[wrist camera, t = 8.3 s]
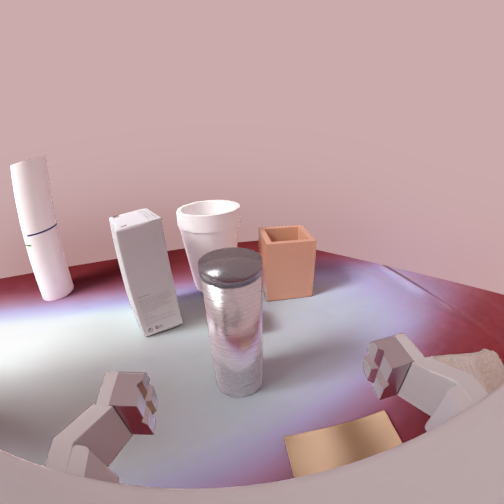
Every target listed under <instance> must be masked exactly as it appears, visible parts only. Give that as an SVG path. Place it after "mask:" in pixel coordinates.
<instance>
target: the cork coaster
mask: <svg viewBox="0 0 504 504" xmlns="http://www.w3.org/2000/svg"><path fill="white" fill-rule="evenodd" d="M284 441H285V445H286V449H287V453H288V457H289V460H290V464H291V468H292V472H293V476H294V478H297V477H302V476H306V475H310V474H315V473H319V472H323V471H326V470H330V469H334V468H337V467H340V466H344V465H347V464H350V463H353V462H356V461H359V460H362V459H365V458H368V457H371V456H373V455H376V454H379V453H381V452H384V451H386V450H389V449H391V448H393V447H396V446H398V445H400V444H403V443H402V441H401V440H400V438H399V436H398V434H397V432H396V430H395V429H394V427H393V425H392V423H391V421H390V419H389V418H388V416H387V414H386V412H385V410H384V411H381V412H378V413H375V414H372V415H369V416H366V417H363V418H360V419H356V420H353V421H349V422H346V423H342V424H339V425H335V426H331V427H327V428H323V429H319V430H314V431H310V432H305V433H300V434H295V435H290V436H284Z"/></svg>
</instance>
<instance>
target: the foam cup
mask: <svg viewBox="0 0 504 504" xmlns="http://www.w3.org/2000/svg"><path fill="white" fill-rule="evenodd" d="M176 214H177V222H178V227H179V228H180V231H181V235H182V239H183V243H184V246H185V250H186V254H187V257H188V261H189V264H190V268H191V272H192V275H193V278H194V282H195V285H196V288H197V289H198V290H199V291H200V292H202V293H203V289H202V282H201V278H200V276H199V268H198V261H199V259H200V258H201V257H202V256H203V255H204V254H206V253H208V252H211V251H213V250H217V249H222V248H235V247H236V248H237V241H238V229H239V223H240V206H239V203H236V202H233V201H227V200H207V201H199V202H194V203H190V204H186V205H184V206H182V207H179V208H178V209H177V211H176Z"/></svg>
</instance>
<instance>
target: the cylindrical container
mask: <svg viewBox="0 0 504 504" xmlns="http://www.w3.org/2000/svg"><path fill="white" fill-rule="evenodd" d="M10 168H11V176H12V183H13V190H14V196H15V201H16V206H17V211H18V216H19V221H20V225H21V229H22V233H23V237H24V241H25V244H26V248H27V252H28V255H29V259H30V262H31V265H32V268H33V271H34V274H35V277H36V280H37V283H38V286H39V289H40V291H41V294H42V297H43V299H44V300H46V301H55V300H58V299H61V298H63V297H65V296H67V295H68V294H69V293H70V292H71V291H72V290H73V288H74V285H73V282H72V279H71V276H70V273H69V269H68V266H67V262H66V259H65V255H64V251H63V248H62V244H61V240H60V236H59V231H58V227H57V223H56V218H55V214H54V208H53V202H52V197H51V190H50V184H49V177H48V170H47V161H46V155H44V156H39V157H35V158H32V159H28V160H25V161H22V162H19V163H16V164H13V165H11V166H10Z"/></svg>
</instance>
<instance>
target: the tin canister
mask: <svg viewBox="0 0 504 504" xmlns="http://www.w3.org/2000/svg"><path fill="white" fill-rule="evenodd" d="M198 268H199V276H200V278H201V282H202V289H203V297H204V304H205V311H206V318H207V324H208V331H209V337H210V343H211V350H212V356H213V361H214V367H215V373H216V378H217V384H218V387H219V388H220V390H221V391H222V392H223V393H225V394H227V395H229V396H232V397H246V396H250V395H252V394H254V393H255V392H257V391H258V390H259V389H260V387H261V386H262V383H263V350H262V281H261V275H262V272H263V265H262V256H261V255H260V254H259V253H257V252H256V251H253V250H250V249H246V248H236V247H235V248H222V249H217V250H213V251H211V252H208V253H206V254H204V255H203V256H202V257H201V258H200V259H199V261H198Z"/></svg>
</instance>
